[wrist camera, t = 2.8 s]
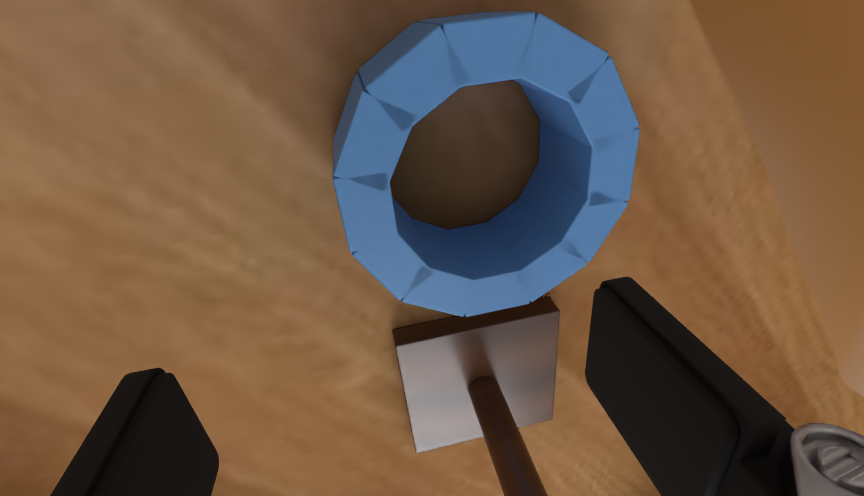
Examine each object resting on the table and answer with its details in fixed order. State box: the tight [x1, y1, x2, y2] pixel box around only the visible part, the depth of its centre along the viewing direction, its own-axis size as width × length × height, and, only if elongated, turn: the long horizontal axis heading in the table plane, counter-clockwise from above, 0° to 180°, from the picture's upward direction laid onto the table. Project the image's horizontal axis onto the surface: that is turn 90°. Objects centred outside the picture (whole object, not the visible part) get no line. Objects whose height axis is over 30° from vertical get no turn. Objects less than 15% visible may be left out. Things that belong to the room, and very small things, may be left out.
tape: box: [333, 12, 640, 317], centre depth 19 cm, size 12×12×5 cm
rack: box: [392, 297, 560, 496], centre depth 24 cm, size 10×10×10 cm
